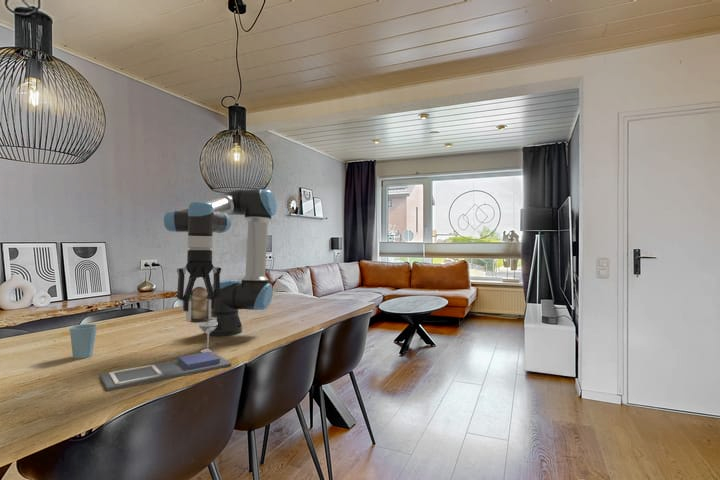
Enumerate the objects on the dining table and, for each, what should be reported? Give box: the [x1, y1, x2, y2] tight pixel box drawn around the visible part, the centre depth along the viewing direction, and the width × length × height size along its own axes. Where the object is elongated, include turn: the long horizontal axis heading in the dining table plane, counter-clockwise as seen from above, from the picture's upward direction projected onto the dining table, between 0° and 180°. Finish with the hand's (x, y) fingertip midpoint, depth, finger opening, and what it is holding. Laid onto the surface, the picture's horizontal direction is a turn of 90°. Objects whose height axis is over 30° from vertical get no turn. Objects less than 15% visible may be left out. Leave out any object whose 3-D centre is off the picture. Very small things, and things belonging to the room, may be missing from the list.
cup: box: [69, 323, 98, 360], centre depth 131 cm, size 8×8×10 cm
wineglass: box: [198, 317, 218, 353], centre depth 140 cm, size 7×7×12 cm
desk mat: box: [99, 352, 232, 392], centre depth 118 cm, size 34×14×2 cm, turn 131°
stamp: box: [190, 286, 208, 324], centre depth 124 cm, size 6×6×11 cm
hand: (198, 319), depth 124 cm, fingers closed on stamp, 5 cm apart
